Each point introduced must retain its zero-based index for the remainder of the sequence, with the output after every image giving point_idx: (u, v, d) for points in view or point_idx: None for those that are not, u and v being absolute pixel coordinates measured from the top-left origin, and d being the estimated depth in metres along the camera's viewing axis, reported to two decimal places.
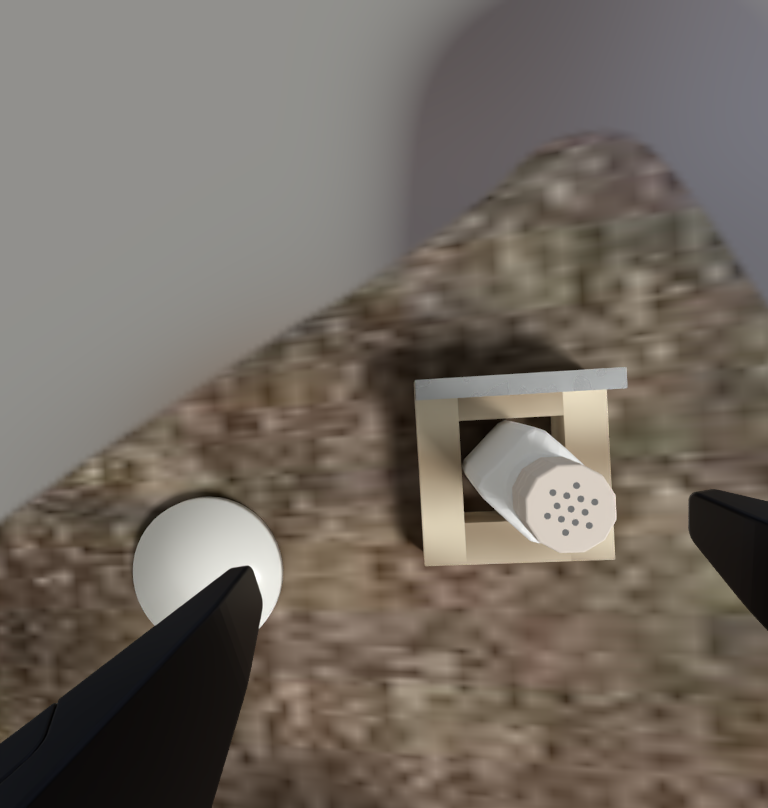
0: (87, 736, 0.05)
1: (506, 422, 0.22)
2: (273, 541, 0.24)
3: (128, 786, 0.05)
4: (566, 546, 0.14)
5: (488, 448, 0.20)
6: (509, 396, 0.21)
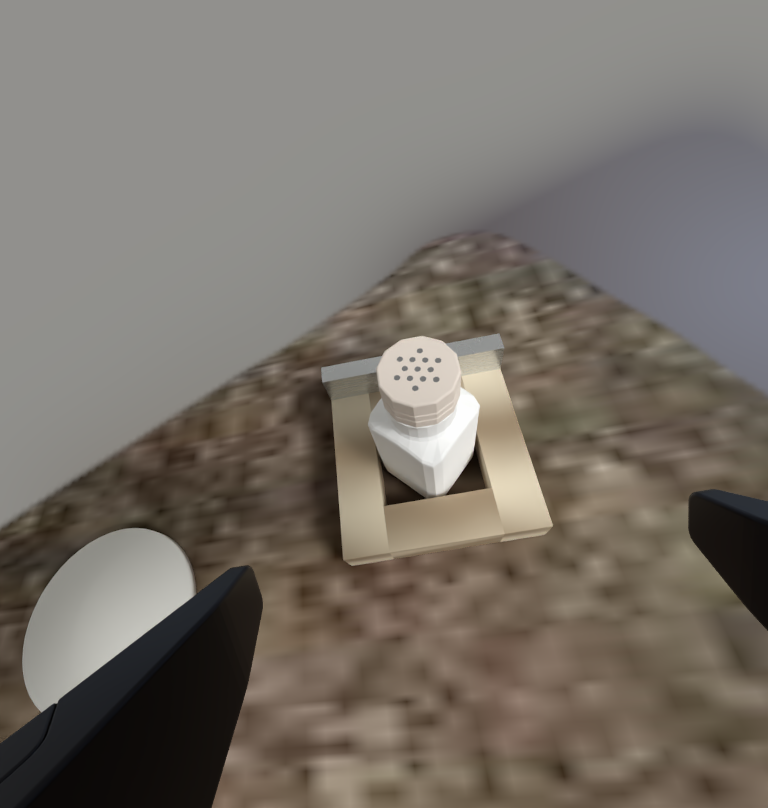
0: (87, 736, 0.05)
1: None
2: (189, 568, 0.22)
3: (128, 786, 0.05)
4: (417, 399, 0.14)
5: None
6: None
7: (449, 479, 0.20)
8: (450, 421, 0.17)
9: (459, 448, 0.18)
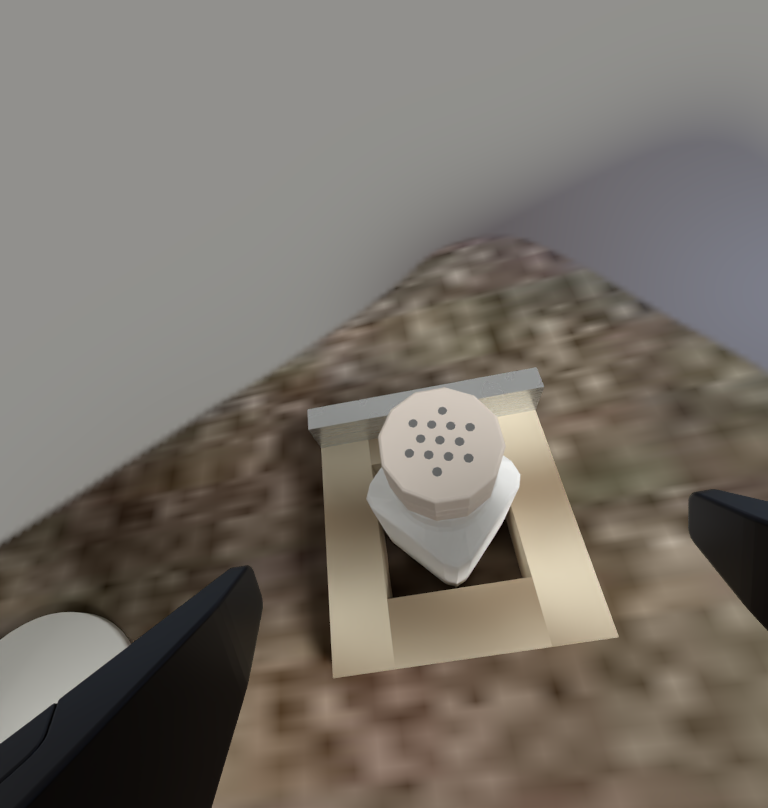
0: (87, 736, 0.05)
1: None
2: None
3: (128, 786, 0.05)
4: (441, 490, 0.09)
5: None
6: None
7: (474, 564, 0.15)
8: (483, 505, 0.12)
9: (491, 532, 0.13)
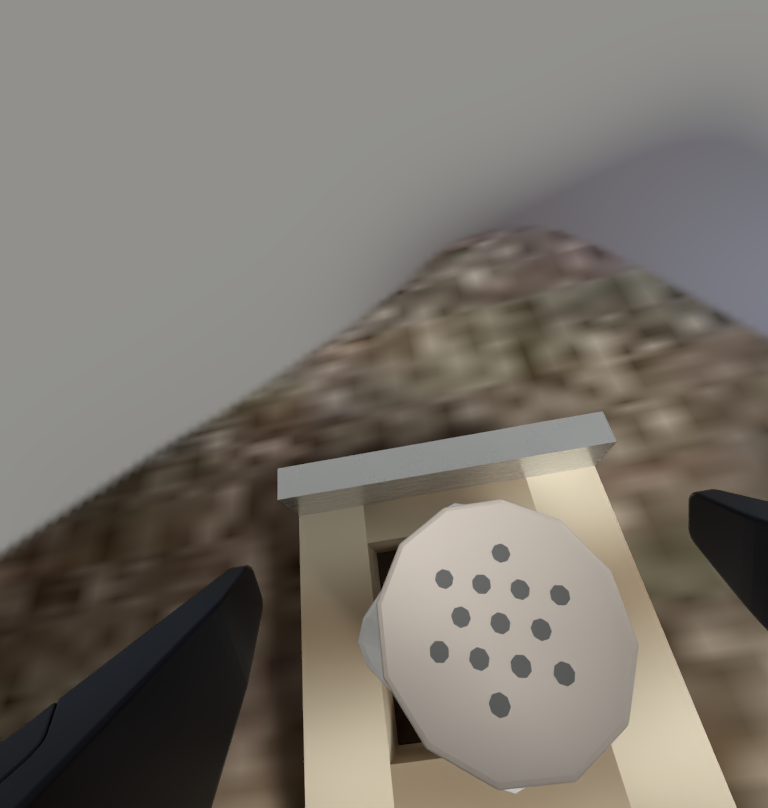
0: (87, 736, 0.05)
1: None
2: None
3: (128, 786, 0.05)
4: (511, 759, 0.04)
5: None
6: (443, 494, 0.13)
7: None
8: None
9: None
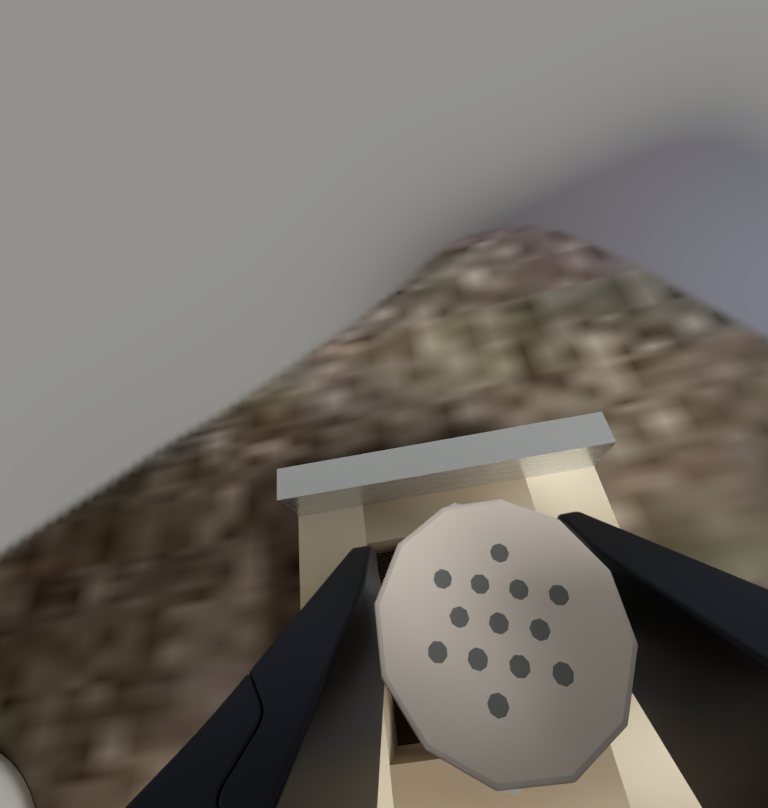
0: (308, 704, 0.04)
1: None
2: None
3: (337, 758, 0.05)
4: (510, 760, 0.04)
5: None
6: (443, 495, 0.13)
7: None
8: None
9: None
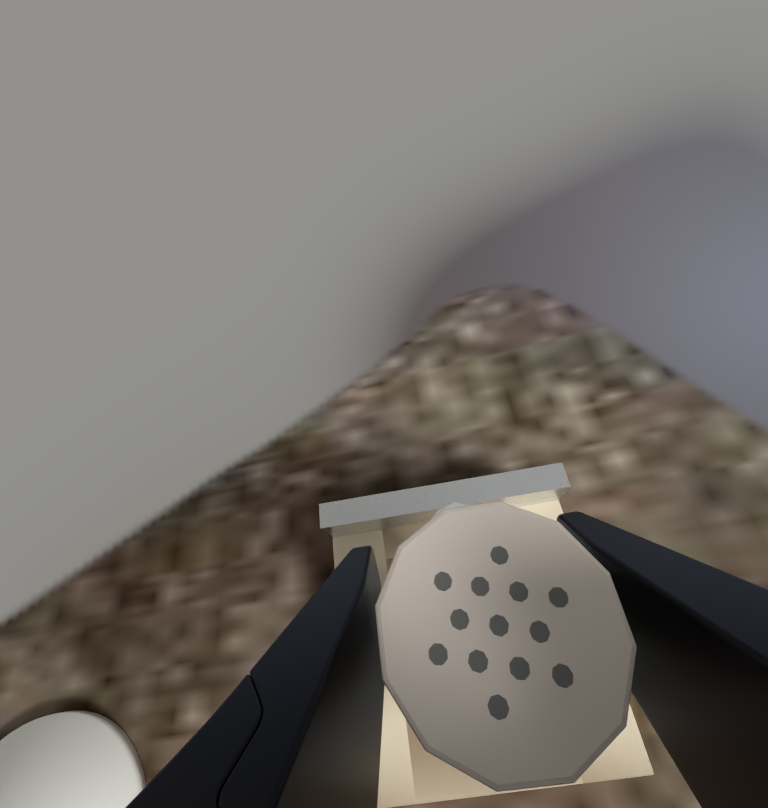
0: (308, 704, 0.04)
1: None
2: (139, 783, 0.16)
3: (337, 758, 0.05)
4: (510, 761, 0.04)
5: None
6: None
7: None
8: None
9: None
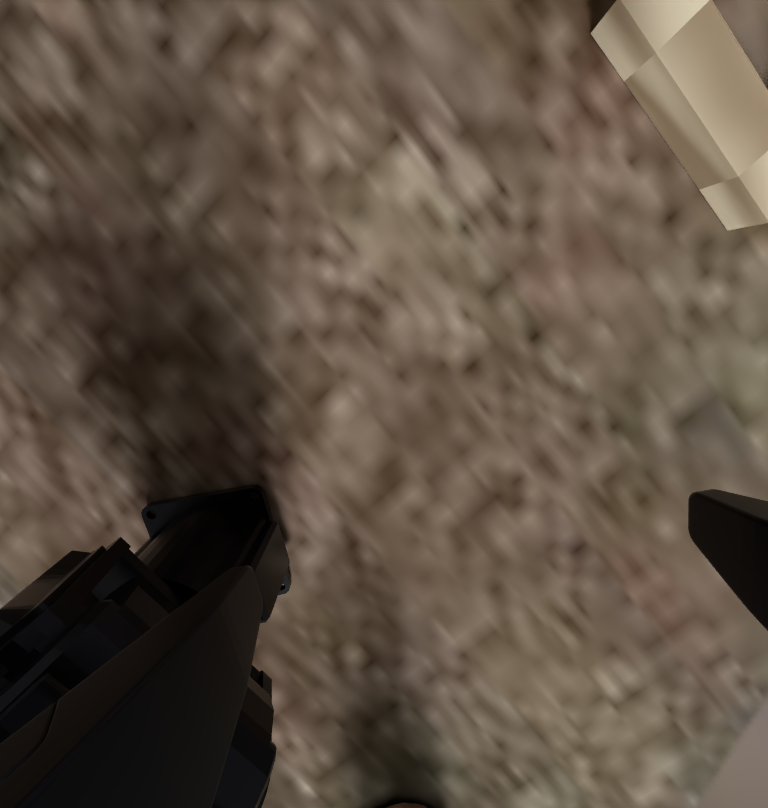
0: (87, 736, 0.05)
1: None
2: None
3: (128, 786, 0.05)
4: None
5: None
6: None
7: None
8: None
9: None
